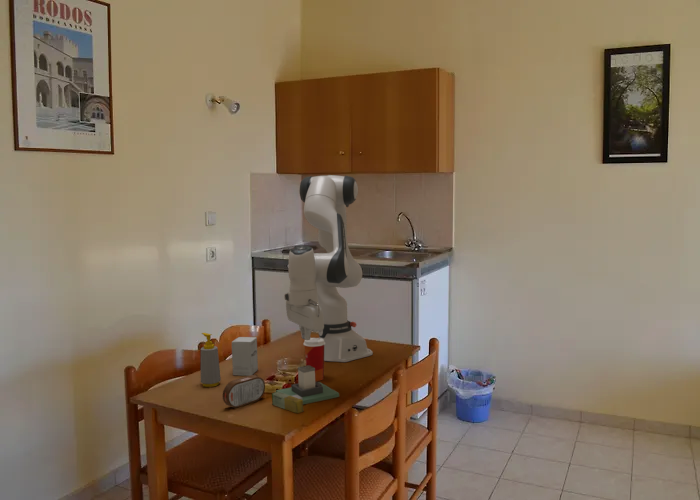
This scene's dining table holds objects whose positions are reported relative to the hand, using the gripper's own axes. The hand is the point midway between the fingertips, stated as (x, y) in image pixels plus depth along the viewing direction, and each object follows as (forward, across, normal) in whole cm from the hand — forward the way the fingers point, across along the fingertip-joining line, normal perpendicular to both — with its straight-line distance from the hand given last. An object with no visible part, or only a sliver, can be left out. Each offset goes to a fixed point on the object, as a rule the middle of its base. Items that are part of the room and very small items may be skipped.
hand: (306, 339), depth 207 cm
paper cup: (+19, +13, -9) cm, 25 cm away
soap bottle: (+18, +28, +24) cm, 42 cm away
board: (+18, -1, +1) cm, 19 cm away
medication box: (+18, -8, +11) cm, 23 cm away
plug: (+17, 0, +1) cm, 17 cm away
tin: (+18, +4, +21) cm, 28 cm away
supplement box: (+19, +34, +9) cm, 40 cm away
